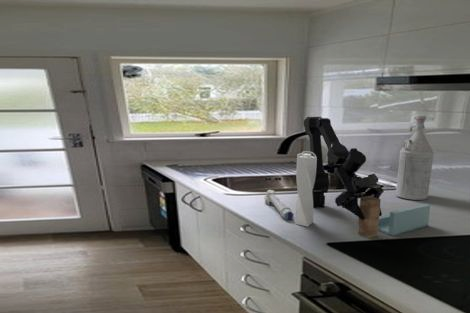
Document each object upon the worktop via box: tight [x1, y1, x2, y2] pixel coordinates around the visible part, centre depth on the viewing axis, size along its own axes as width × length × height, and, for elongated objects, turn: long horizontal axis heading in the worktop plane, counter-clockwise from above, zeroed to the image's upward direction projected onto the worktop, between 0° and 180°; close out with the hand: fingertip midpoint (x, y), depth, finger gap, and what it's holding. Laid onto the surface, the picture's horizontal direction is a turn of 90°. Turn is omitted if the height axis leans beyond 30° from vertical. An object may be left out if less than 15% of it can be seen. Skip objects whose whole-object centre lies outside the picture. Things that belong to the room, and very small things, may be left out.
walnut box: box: [357, 196, 382, 239], centre depth 112 cm, size 4×4×13 cm
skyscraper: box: [294, 150, 317, 227], centre depth 121 cm, size 8×8×28 cm
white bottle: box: [395, 113, 435, 201], centre depth 156 cm, size 13×17×40 cm
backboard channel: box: [378, 203, 431, 236], centre depth 120 cm, size 9×20×8 cm, turn 118°
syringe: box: [263, 189, 295, 221], centre depth 138 cm, size 5×7×25 cm
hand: (372, 217), depth 111 cm, fingers open, 8 cm apart
